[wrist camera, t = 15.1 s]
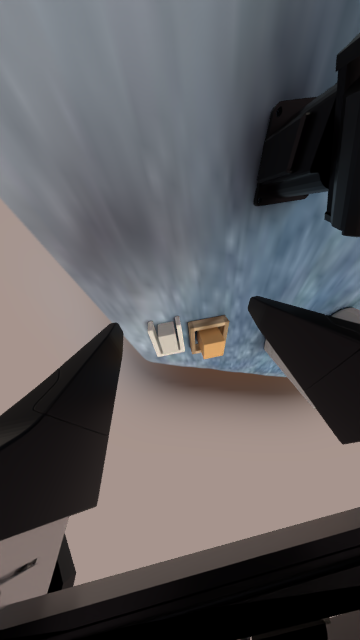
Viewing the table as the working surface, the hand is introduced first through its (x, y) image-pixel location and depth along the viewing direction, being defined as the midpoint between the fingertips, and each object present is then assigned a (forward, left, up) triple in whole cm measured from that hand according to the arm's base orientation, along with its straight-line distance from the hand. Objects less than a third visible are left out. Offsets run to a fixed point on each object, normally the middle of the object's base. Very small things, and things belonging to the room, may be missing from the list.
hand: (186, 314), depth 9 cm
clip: (+3, +13, -12) cm, 18 cm away
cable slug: (+3, +13, -12) cm, 18 cm away
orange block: (-6, +15, -12) cm, 20 cm away
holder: (-6, +15, -12) cm, 20 cm away
